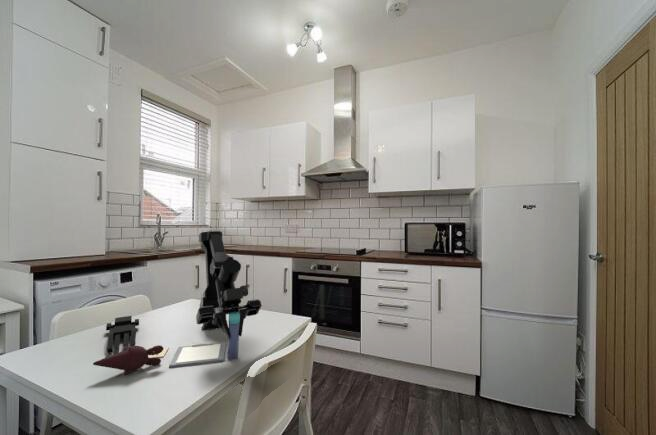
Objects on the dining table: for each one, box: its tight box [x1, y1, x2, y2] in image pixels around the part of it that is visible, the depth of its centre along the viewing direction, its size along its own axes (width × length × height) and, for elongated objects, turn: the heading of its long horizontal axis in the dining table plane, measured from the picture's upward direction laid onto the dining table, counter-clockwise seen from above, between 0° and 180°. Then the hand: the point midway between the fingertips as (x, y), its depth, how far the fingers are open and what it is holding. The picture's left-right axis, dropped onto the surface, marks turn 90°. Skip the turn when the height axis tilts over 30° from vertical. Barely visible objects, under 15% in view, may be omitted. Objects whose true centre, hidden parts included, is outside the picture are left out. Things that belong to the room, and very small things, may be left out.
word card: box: [148, 347, 169, 359], centre depth 82 cm, size 6×4×1 cm, turn 18°
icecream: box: [92, 344, 165, 375], centre depth 72 cm, size 7×7×15 cm
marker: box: [226, 312, 240, 361], centre depth 81 cm, size 3×3×13 cm
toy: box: [105, 315, 140, 355], centre depth 88 cm, size 10×5×30 cm
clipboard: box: [168, 341, 227, 368], centre depth 82 cm, size 12×14×1 cm
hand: (234, 337), depth 80 cm, fingers closed on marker, 3 cm apart
